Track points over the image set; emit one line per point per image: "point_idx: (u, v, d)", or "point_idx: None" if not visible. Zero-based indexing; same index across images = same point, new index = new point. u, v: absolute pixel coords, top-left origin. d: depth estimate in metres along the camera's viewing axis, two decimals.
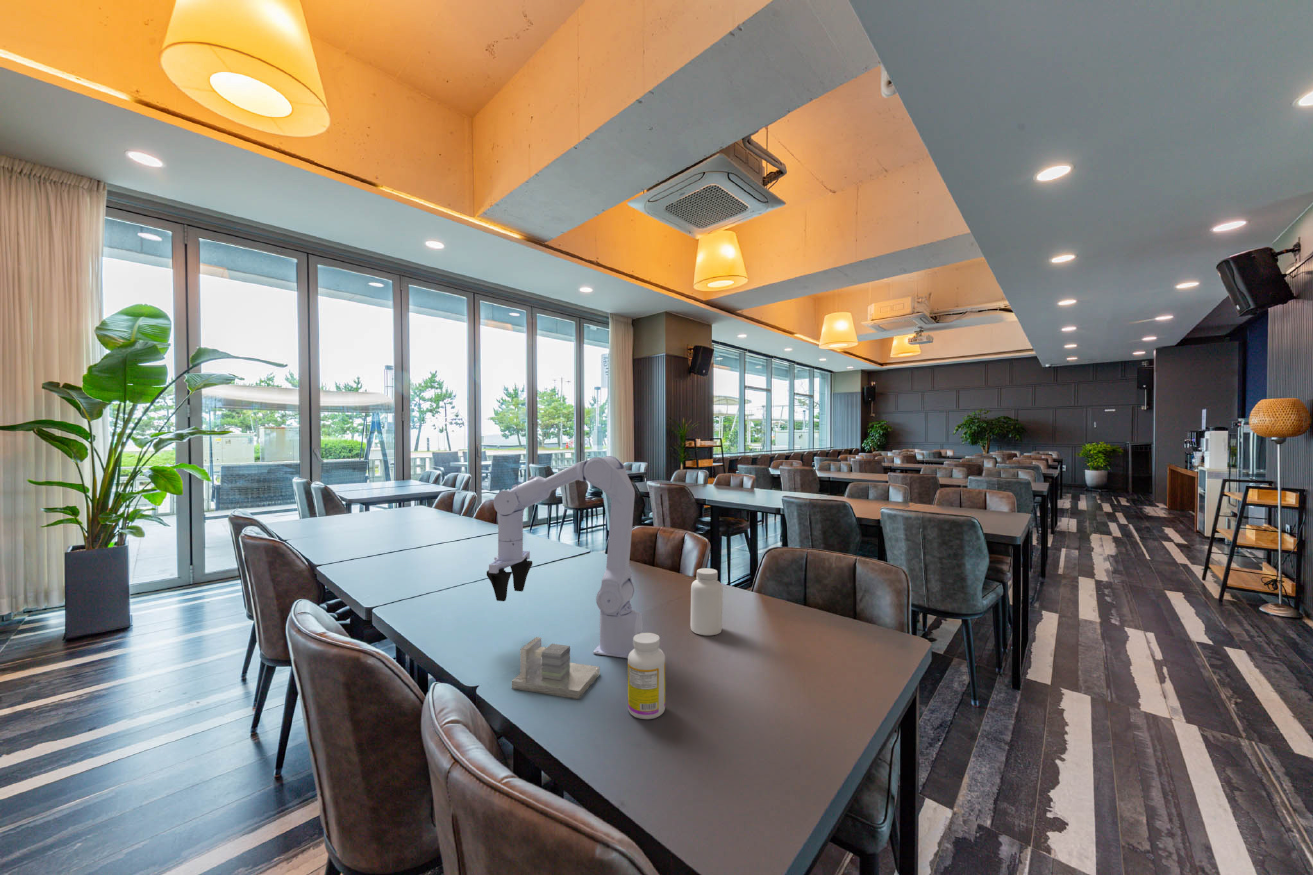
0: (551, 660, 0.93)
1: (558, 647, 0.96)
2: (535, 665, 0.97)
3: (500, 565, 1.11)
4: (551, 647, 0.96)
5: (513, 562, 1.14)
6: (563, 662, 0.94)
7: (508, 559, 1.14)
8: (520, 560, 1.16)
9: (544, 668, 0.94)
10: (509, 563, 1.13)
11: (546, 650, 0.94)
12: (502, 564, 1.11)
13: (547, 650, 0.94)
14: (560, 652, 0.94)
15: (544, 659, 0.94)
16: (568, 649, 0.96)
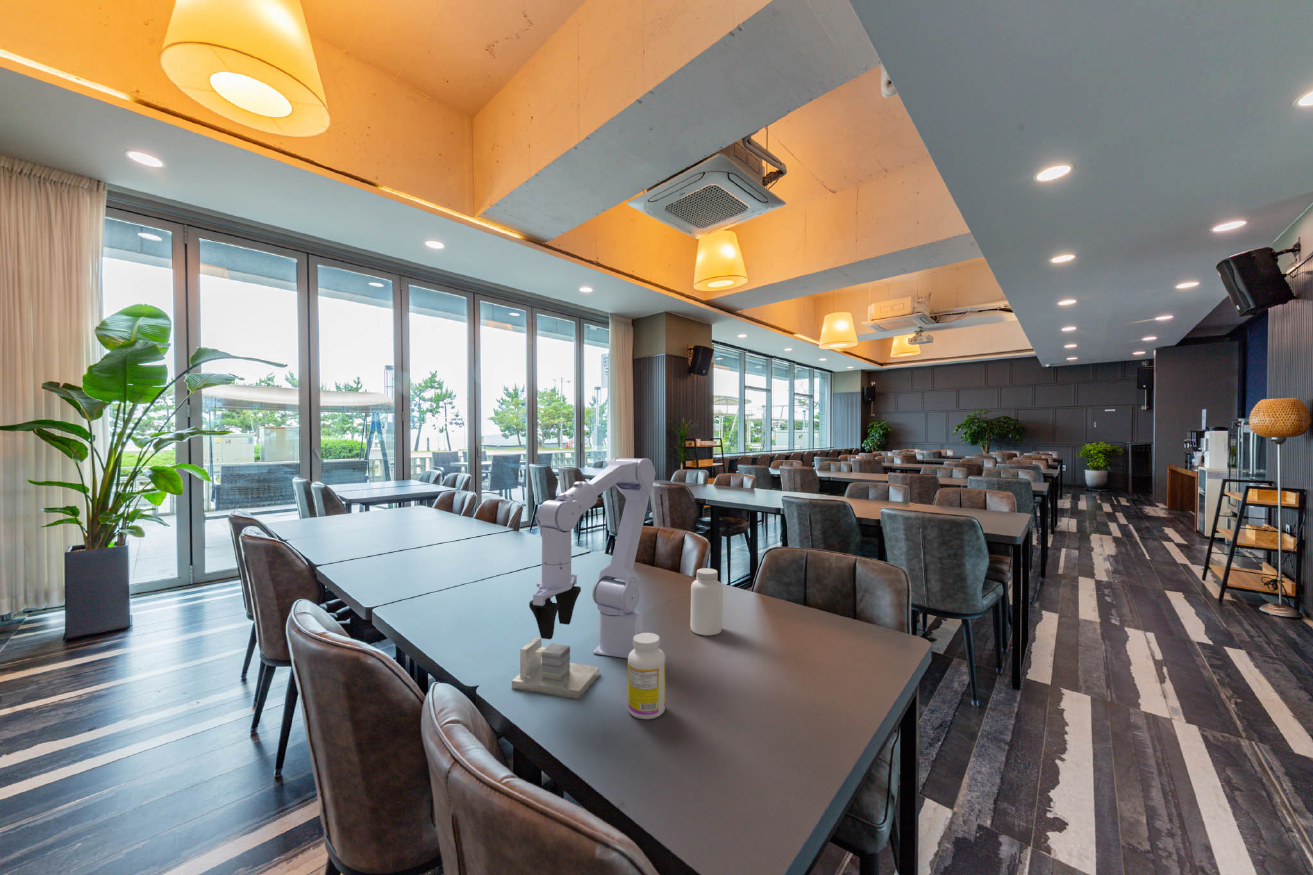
0: (551, 660, 0.93)
1: (558, 647, 0.96)
2: (535, 665, 0.97)
3: (547, 595, 0.89)
4: (551, 647, 0.96)
5: (561, 590, 0.92)
6: (563, 662, 0.94)
7: (555, 587, 0.92)
8: (569, 587, 0.94)
9: (544, 668, 0.94)
10: (557, 592, 0.91)
11: (546, 650, 0.94)
12: (549, 594, 0.90)
13: (547, 650, 0.94)
14: (560, 652, 0.94)
15: (544, 659, 0.94)
16: (568, 649, 0.96)
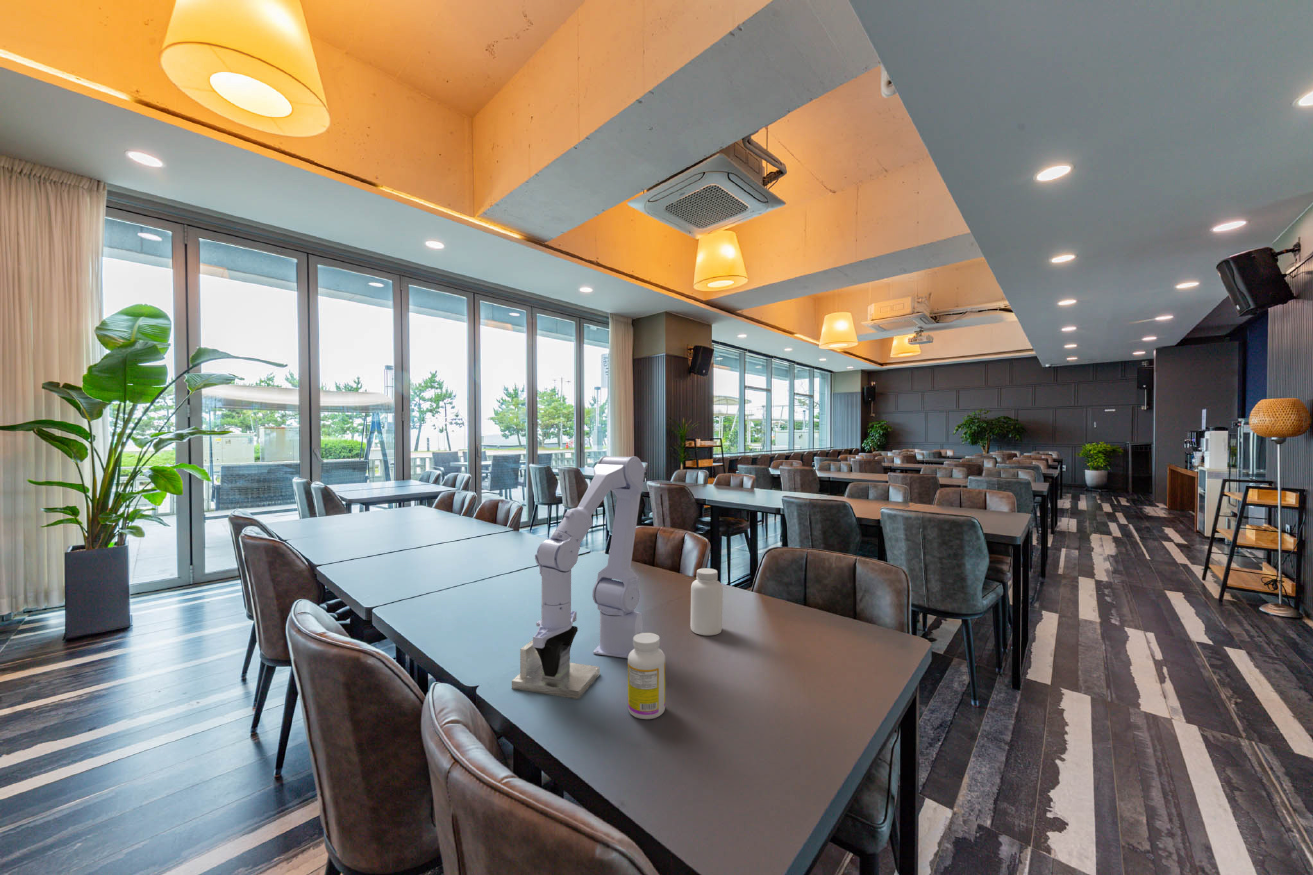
0: None
1: None
2: (535, 665, 0.97)
3: (546, 637, 0.89)
4: None
5: (561, 631, 0.92)
6: (563, 662, 0.94)
7: (555, 627, 0.92)
8: (569, 627, 0.94)
9: None
10: (557, 633, 0.91)
11: None
12: (549, 635, 0.90)
13: None
14: (560, 652, 0.94)
15: None
16: (568, 649, 0.96)
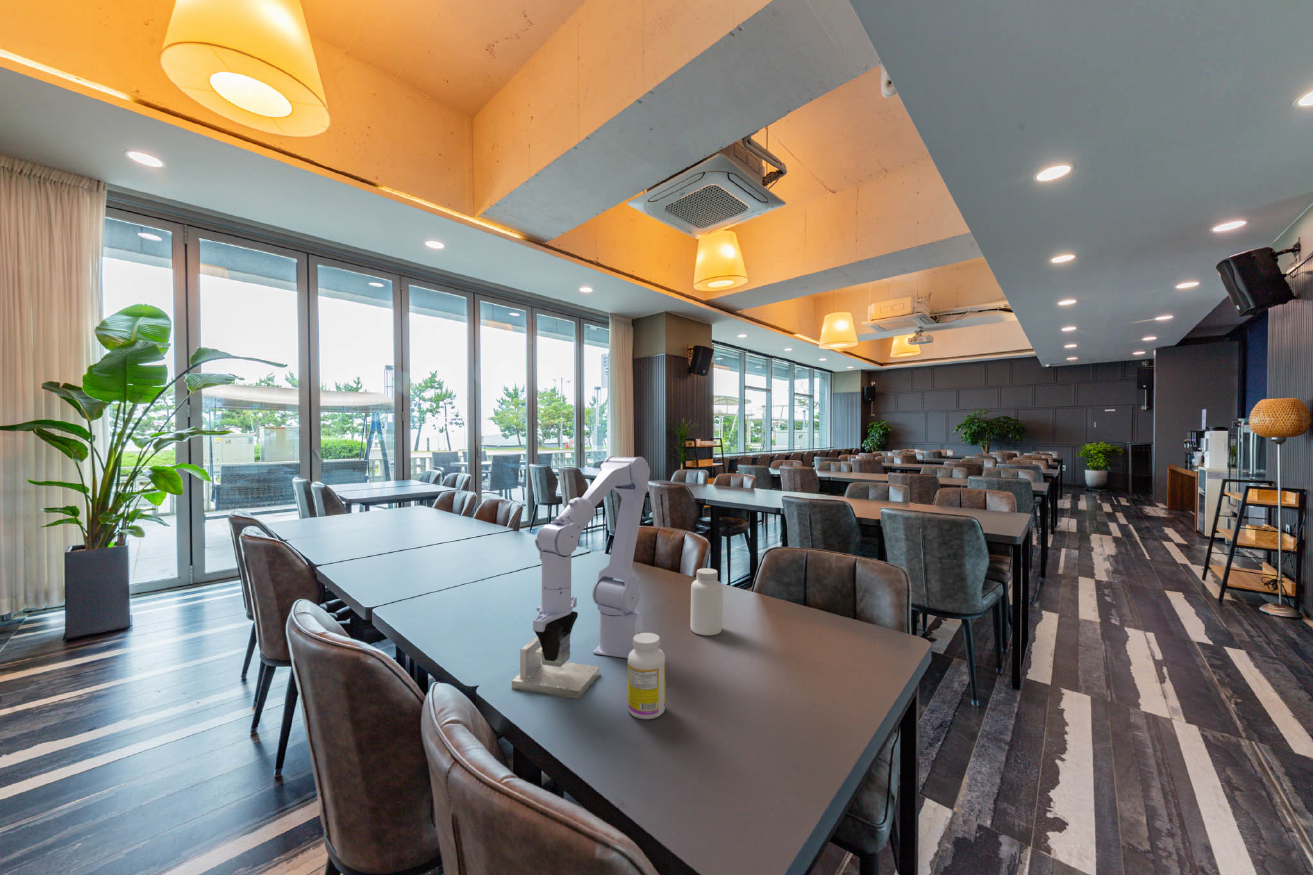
0: None
1: None
2: (535, 665, 0.97)
3: (547, 621, 0.89)
4: None
5: (561, 615, 0.92)
6: (563, 649, 0.94)
7: (555, 611, 0.92)
8: (569, 612, 0.94)
9: None
10: (557, 617, 0.91)
11: None
12: (549, 619, 0.90)
13: None
14: (560, 639, 0.94)
15: None
16: (568, 636, 0.96)
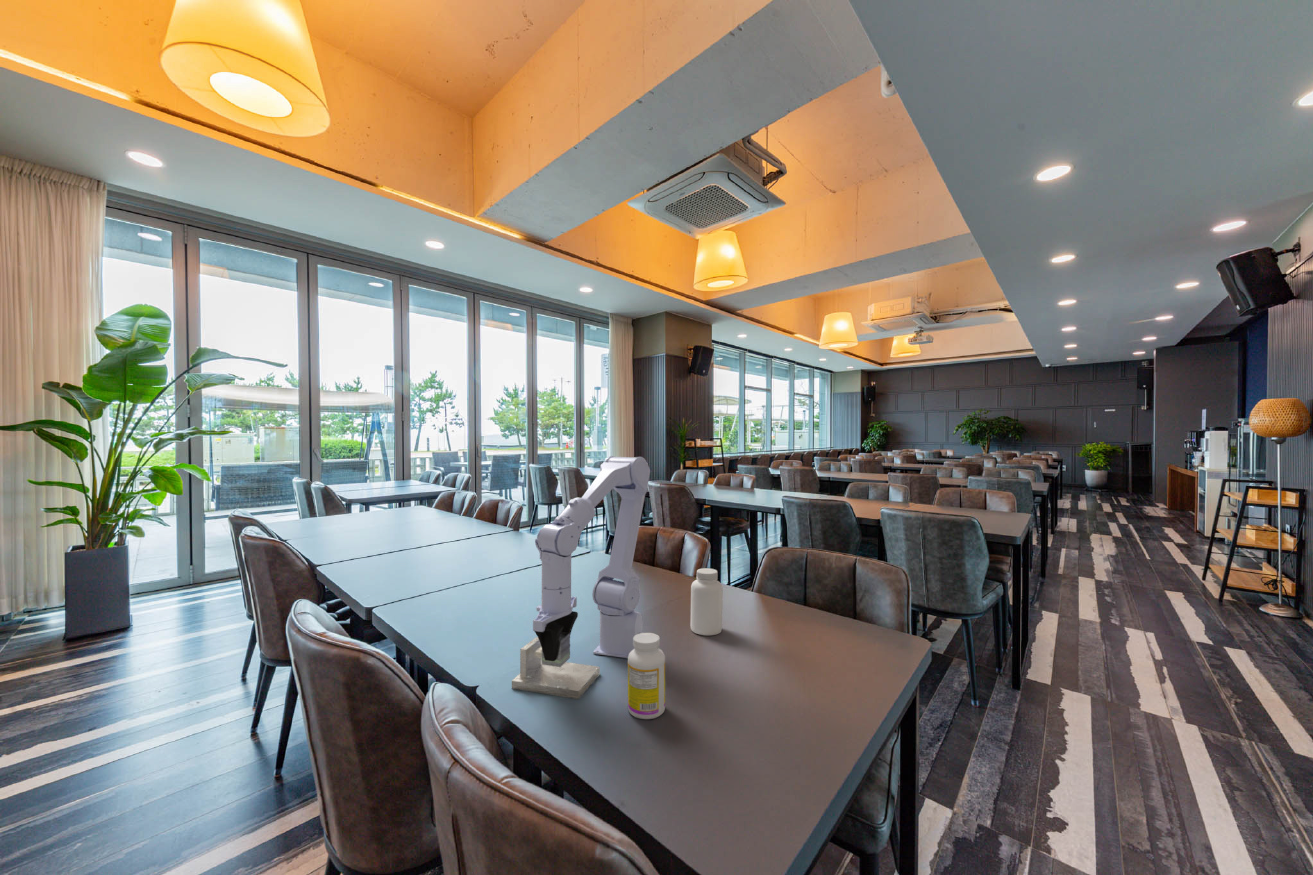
0: None
1: None
2: (535, 665, 0.97)
3: (547, 621, 0.89)
4: None
5: (561, 615, 0.92)
6: (563, 649, 0.94)
7: (555, 611, 0.92)
8: (569, 612, 0.94)
9: None
10: (557, 617, 0.91)
11: None
12: (549, 619, 0.90)
13: None
14: (560, 639, 0.94)
15: None
16: (568, 636, 0.96)
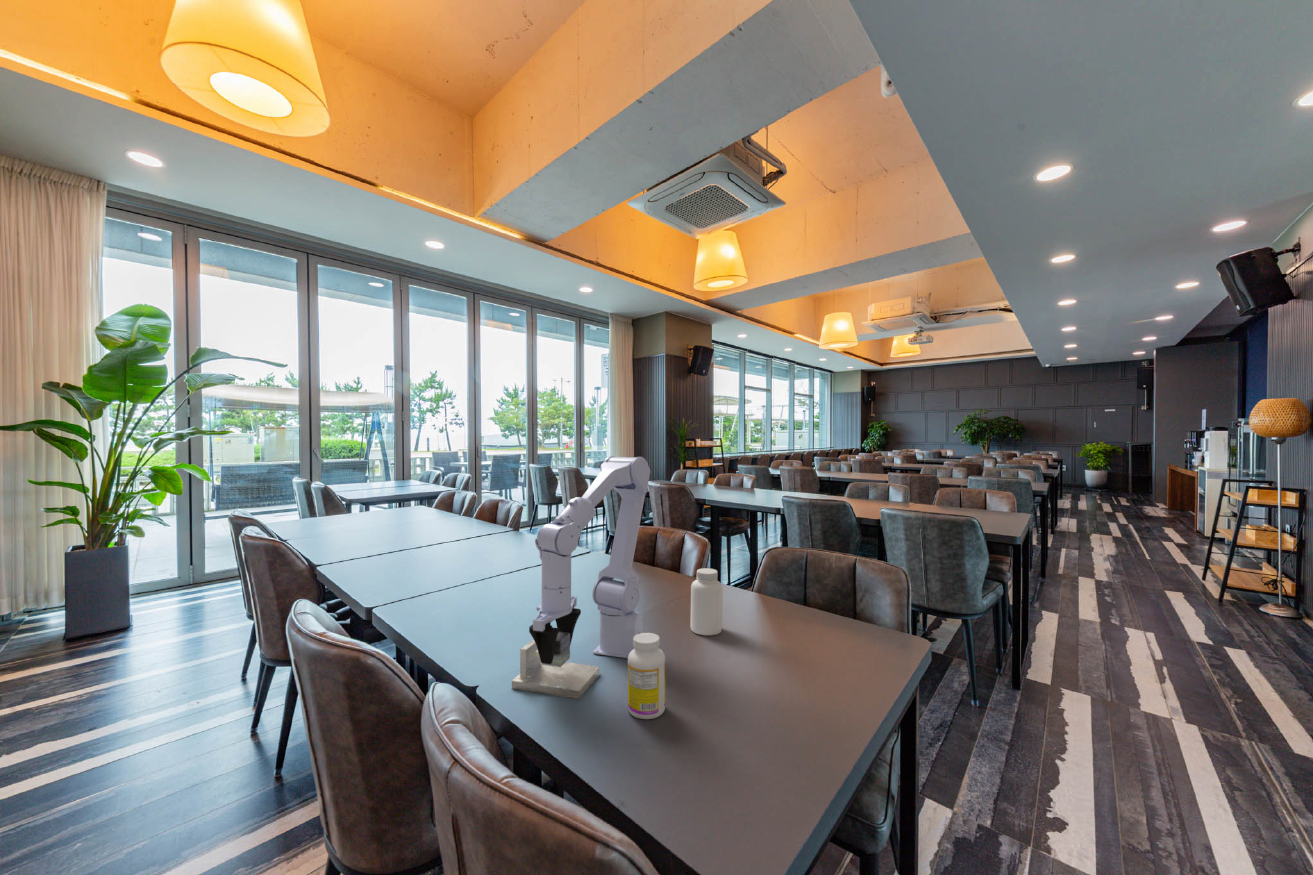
0: None
1: (558, 634, 0.96)
2: (535, 665, 0.97)
3: (547, 620, 0.89)
4: None
5: (561, 615, 0.92)
6: (563, 649, 0.94)
7: (555, 611, 0.92)
8: (569, 611, 0.94)
9: None
10: (557, 617, 0.91)
11: None
12: (549, 619, 0.90)
13: None
14: (560, 639, 0.94)
15: None
16: (568, 636, 0.96)
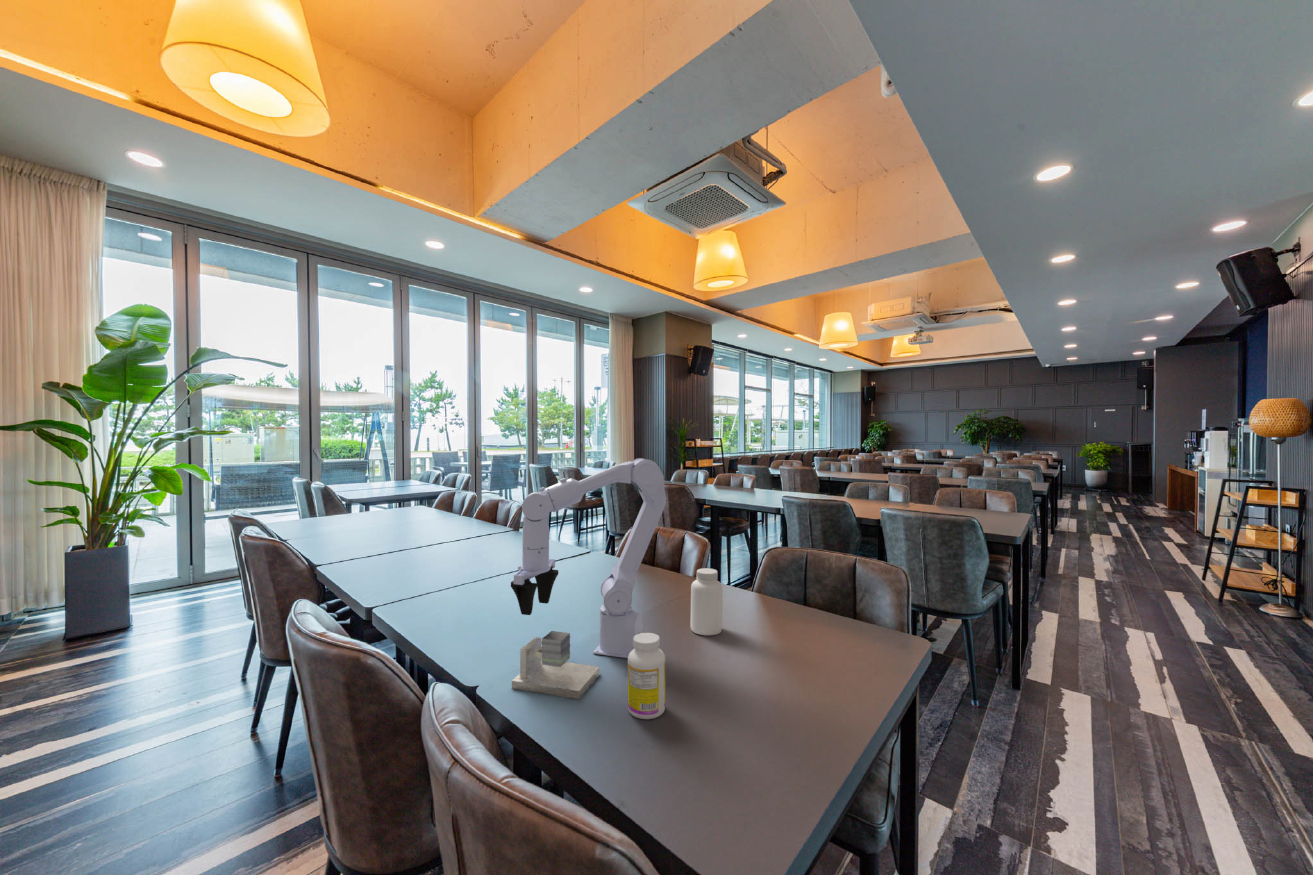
0: (551, 647, 0.93)
1: (558, 634, 0.96)
2: (535, 665, 0.97)
3: (526, 576, 1.01)
4: (551, 634, 0.96)
5: (539, 572, 1.04)
6: (563, 649, 0.94)
7: (534, 569, 1.04)
8: (546, 570, 1.06)
9: (544, 655, 0.94)
10: (535, 573, 1.03)
11: (546, 637, 0.94)
12: (528, 574, 1.02)
13: (547, 637, 0.94)
14: (560, 639, 0.94)
15: (544, 646, 0.94)
16: (568, 636, 0.96)
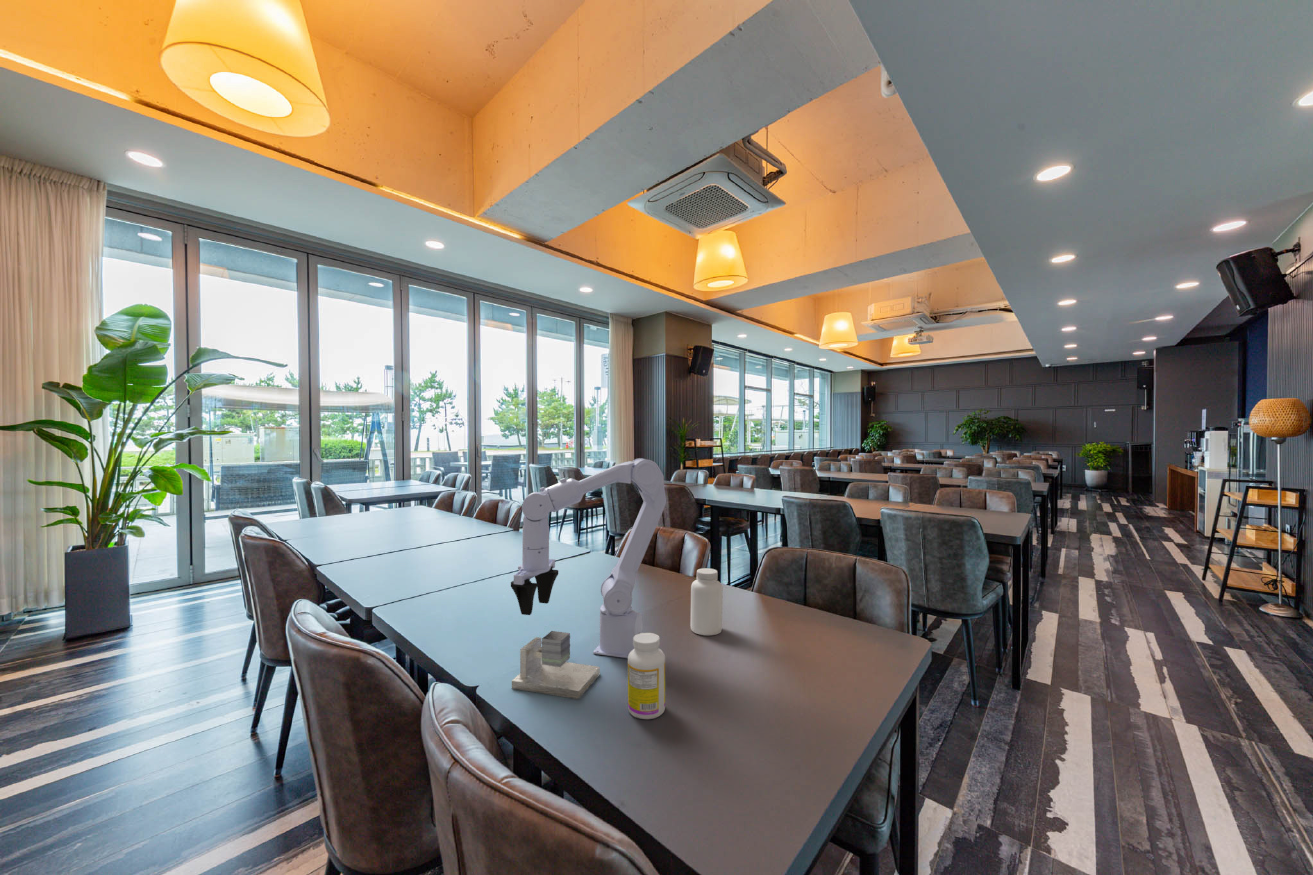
0: (551, 647, 0.93)
1: (558, 634, 0.96)
2: (535, 665, 0.97)
3: (526, 576, 1.01)
4: (551, 634, 0.96)
5: (539, 572, 1.04)
6: (563, 649, 0.94)
7: (534, 569, 1.04)
8: (546, 570, 1.06)
9: (544, 655, 0.94)
10: (535, 573, 1.03)
11: (546, 637, 0.94)
12: (528, 574, 1.02)
13: (547, 637, 0.94)
14: (560, 639, 0.94)
15: (544, 646, 0.94)
16: (568, 636, 0.96)
